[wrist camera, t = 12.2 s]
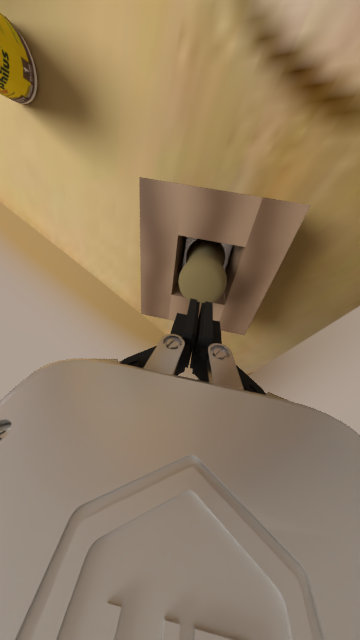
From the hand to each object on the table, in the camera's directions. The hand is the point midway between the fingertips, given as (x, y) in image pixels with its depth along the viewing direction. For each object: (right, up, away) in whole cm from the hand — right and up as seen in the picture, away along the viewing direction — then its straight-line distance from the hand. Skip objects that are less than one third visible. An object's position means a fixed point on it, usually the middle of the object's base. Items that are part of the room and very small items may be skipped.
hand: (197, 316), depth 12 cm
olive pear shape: (+3, +9, +13) cm, 16 cm away
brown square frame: (+3, +10, +14) cm, 17 cm away
